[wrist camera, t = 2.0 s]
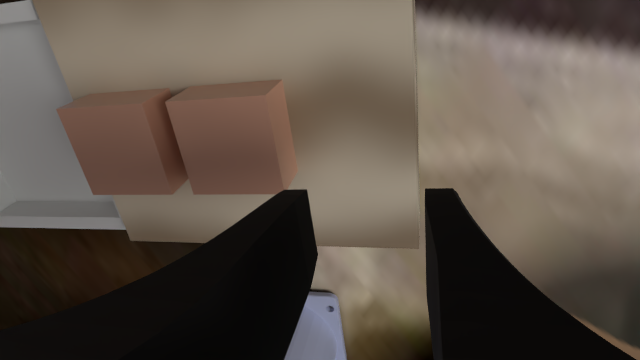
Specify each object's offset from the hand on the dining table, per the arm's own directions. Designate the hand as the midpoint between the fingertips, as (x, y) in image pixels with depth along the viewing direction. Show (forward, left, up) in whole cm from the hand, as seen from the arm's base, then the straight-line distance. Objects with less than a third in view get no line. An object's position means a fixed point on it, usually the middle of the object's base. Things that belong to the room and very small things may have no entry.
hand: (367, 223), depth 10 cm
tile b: (0, +11, -7) cm, 13 cm away
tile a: (0, +6, -7) cm, 9 cm away
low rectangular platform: (0, +7, -10) cm, 12 cm away
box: (0, +20, -10) cm, 22 cm away
